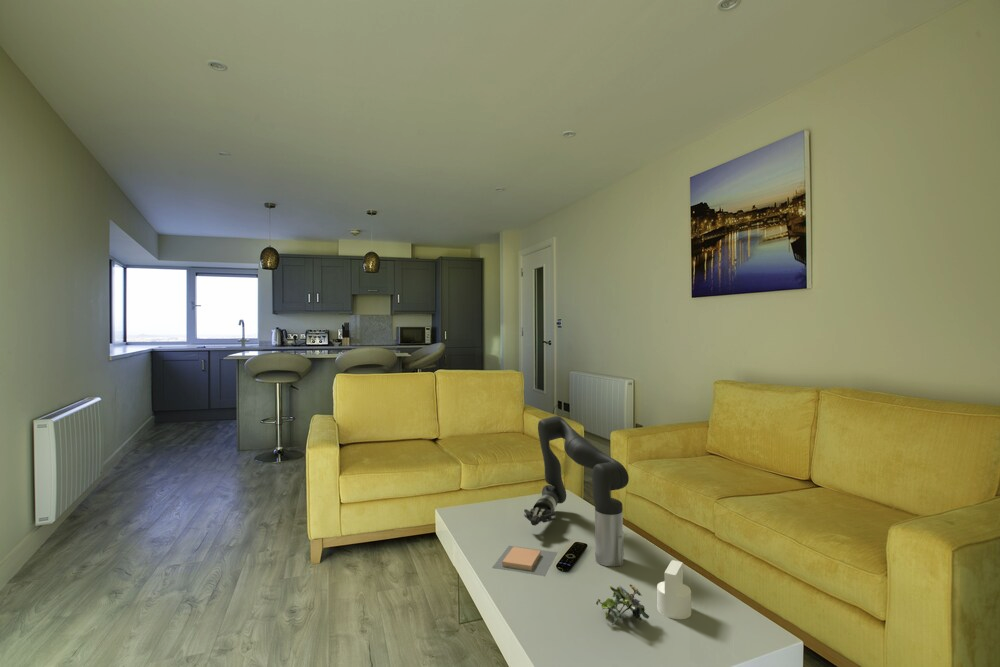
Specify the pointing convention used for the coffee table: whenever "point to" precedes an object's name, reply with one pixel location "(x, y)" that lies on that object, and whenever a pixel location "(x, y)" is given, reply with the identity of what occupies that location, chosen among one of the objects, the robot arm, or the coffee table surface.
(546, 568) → the mat
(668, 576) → the cylinder with rectangular tab
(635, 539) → the coffee table surface
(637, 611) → the passion flower
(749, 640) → the coffee table surface
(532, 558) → the tile
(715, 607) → the coffee table surface
